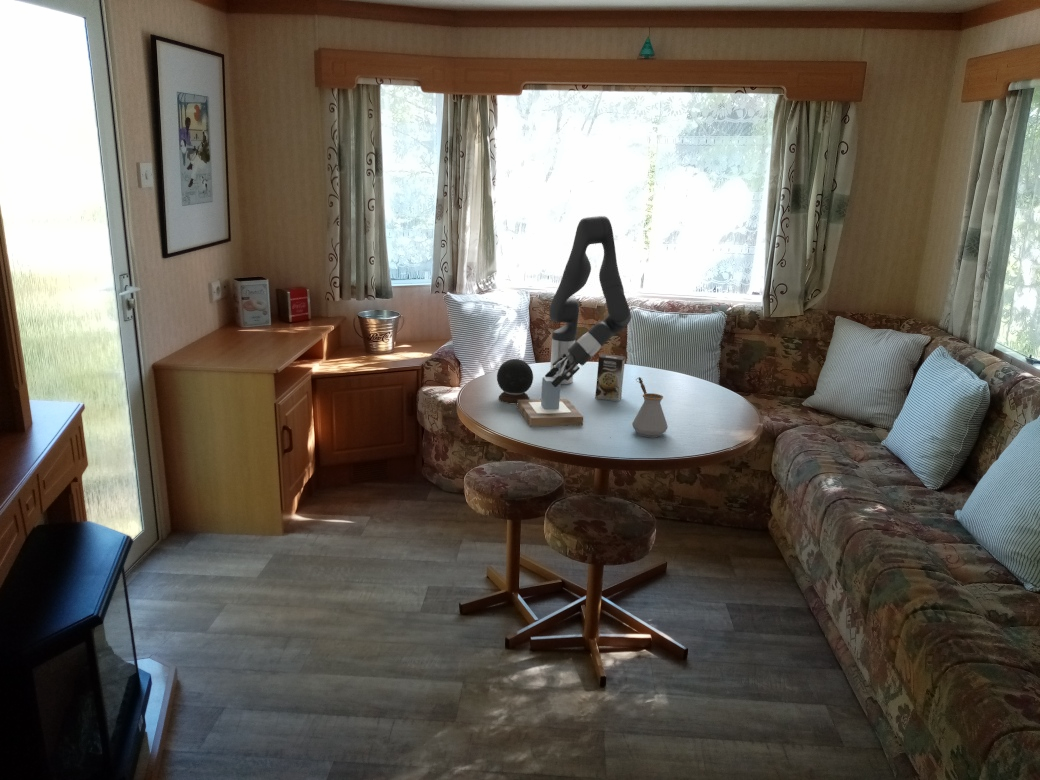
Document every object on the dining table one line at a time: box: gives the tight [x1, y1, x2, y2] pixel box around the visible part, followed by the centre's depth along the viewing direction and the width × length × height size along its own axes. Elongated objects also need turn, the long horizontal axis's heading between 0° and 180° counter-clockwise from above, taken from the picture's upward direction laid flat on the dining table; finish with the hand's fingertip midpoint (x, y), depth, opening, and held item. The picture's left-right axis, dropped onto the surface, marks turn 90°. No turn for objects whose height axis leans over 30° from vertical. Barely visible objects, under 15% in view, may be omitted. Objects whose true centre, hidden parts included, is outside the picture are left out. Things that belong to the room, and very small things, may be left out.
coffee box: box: [594, 353, 626, 402], centre depth 288 cm, size 9×6×16 cm
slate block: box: [540, 376, 562, 409], centre depth 264 cm, size 5×5×10 cm
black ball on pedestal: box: [496, 358, 534, 404], centre depth 281 cm, size 13×13×15 cm
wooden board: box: [516, 398, 584, 427], centre depth 266 cm, size 20×18×3 cm
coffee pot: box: [631, 376, 668, 438], centre depth 257 cm, size 21×12×15 cm, turn 9°
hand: (549, 381), depth 263 cm, fingers open, 8 cm apart
